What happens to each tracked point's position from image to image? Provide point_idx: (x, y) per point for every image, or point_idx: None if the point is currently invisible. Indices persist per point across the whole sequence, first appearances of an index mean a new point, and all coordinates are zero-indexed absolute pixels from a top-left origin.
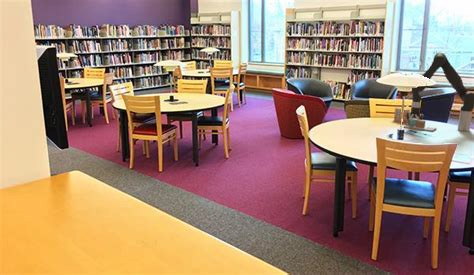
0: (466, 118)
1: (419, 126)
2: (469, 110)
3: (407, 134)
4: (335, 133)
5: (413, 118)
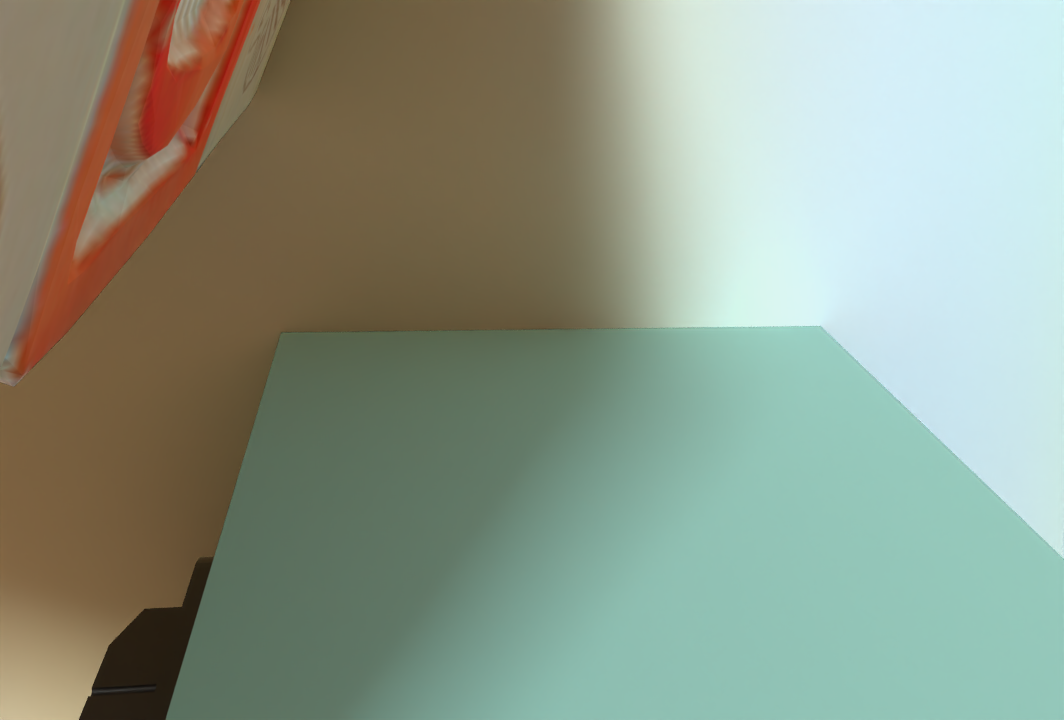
0: None
1: None
2: None
3: None
4: None
5: (159, 65)
